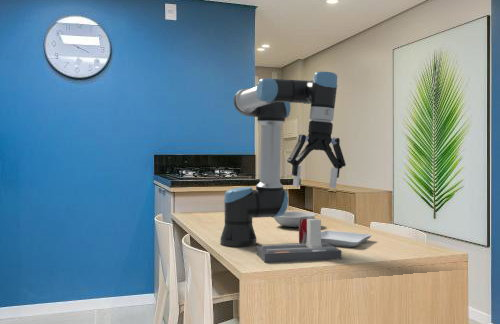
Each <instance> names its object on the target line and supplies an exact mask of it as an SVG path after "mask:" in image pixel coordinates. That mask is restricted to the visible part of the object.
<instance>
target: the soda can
mask: <svg viewBox="0 0 500 324" xmlns="http://www.w3.org/2000/svg"><path fill="white" fill-rule="evenodd" d="M315 217H316V216H315ZM315 217H308V216H306V217H301V219H300V221H299V227H298V244H306V243H307V219H316V218H315Z"/></svg>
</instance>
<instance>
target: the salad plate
mask: <svg viewBox="0 0 500 324" xmlns="http://www.w3.org/2000/svg"><path fill="white" fill-rule="evenodd" d="M371 237H372V234H368V233H360V232H359V233H358V232H350V231H339V230H338V231H337V230H324V231H321V243H327V244H330V245H332V246H334V247H344V248H353V247H357V246H359V245H360V244H362V243H363V242H366V241H368V240H369V239H370V238H371Z"/></svg>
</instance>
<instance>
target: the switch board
mask: <svg viewBox="0 0 500 324" xmlns="http://www.w3.org/2000/svg"><path fill="white" fill-rule="evenodd" d="M321 245H322V247H316V248H309V247H307V246H306V244H299V243H289V244H284V243H283V244H267V245H266V244H262V245H260V246H259V245H258V246H256V255H257V257H259V259H260V260H262V262H263V263H282V262H283V263H284V262H285V263H286V262H303V261H307V262H308V261H327V260H342V250H341V249H339V248H337V246H333V245H330V244H327V243H321Z"/></svg>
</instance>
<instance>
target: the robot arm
mask: <svg viewBox="0 0 500 324" xmlns="http://www.w3.org/2000/svg"><path fill="white" fill-rule="evenodd" d="M337 88H338V75H337V74H336V73H335V72H332V71H316V72H315V73H314V74H313V78H312V80H302V79H301V80H299V79H280V78H272V77H269V78H268V77H267V78H260V79H259V81H258V83H257V85H256V86H254V87H251V88H249V87H248V88H247V87H245V88H242V89H239V90H238V91H237V92H236V93H235V94H234V96H233V106H234V108H235V110H236V111H238V113H239V114H242V115H243V116H246V117H250V118H251V117H253V118H254V117H255V118H257V123H258V124H259V125H260V148H259V149H260V151H259V152H260V153H259V155H260V159H259V160H260V161H259V182H258V183H257V184H256V185H255V189H253V187H251V186H243V187H235V188H231V189H227V190H226V191H225V192H224V199H223V200H224V201H223V203H224V226H223V229H222V233H221V235H220V245H222V246H226V247H235V248H236V247H238V248H239V247H251V246H255V245H257V243H258V241H257V235H256V233H255V229H254V225H253V219H255V218H274V217H277V216H282V215H283V214H284V213H285V211H287V209H288V206H289V196H288V191H287V190H286V189H284V185H283V184H282V183H281V150H282V149H281V147H282V145H281V144H282V141H281V140H282V125H283V124H284V123H285V122H286V119H287V118H288V117H289V115H291V114H290V113H291V103H295V104H297V103H298V104H306V105H307V104H308V105H309V104H310V111H309V119H310V120H309V122H308V134H307V135H306V134H299V135H298V139H297V141H296V145H295V146H294V148H293V149H292V151H291V153H290V154H289V157H288V158H287V163H288V164H291V165H292V168H291V176H293V180H292V181H293V183H292V186H293V187H296V188H299V187H300V179H301V171H302V166H300V164H301V163H302V162H303V161H304V160H305V159H306V158H307V157H308V155H309V154H310V153H311V152H312V151H321V152H322V151H324V153H325V154H326V156H327V158H328V159H329V162H330V163H331V164H332V167H331V168H330V177H329V188H332V189H336V188H337V180H338V179H339V178H340V169H343V167H346V161H345V158H344V155H343V150H342V148H341V145H340V141H341V140H340V138H339V137H332V134H333V129H334V128H333V126H334V124H333V123H332V122H333V121H334V116H335V115H334V114H335V107H336V97H337V90H338V89H337ZM306 142H308V143H307V144H306V146H305V143H306ZM330 144H331V145H332V146H331V145H330ZM303 147H304V149H303ZM332 148H333V150H332ZM301 150H302V151H301ZM333 151H334V152H333Z"/></svg>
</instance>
